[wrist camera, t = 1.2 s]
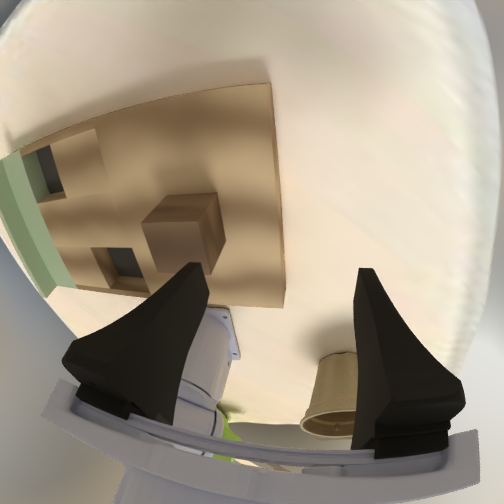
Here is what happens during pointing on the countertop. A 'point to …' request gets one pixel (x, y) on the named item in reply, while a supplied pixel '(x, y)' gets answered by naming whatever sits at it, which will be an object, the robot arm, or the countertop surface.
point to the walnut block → (185, 232)
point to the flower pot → (333, 397)
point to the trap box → (151, 195)
